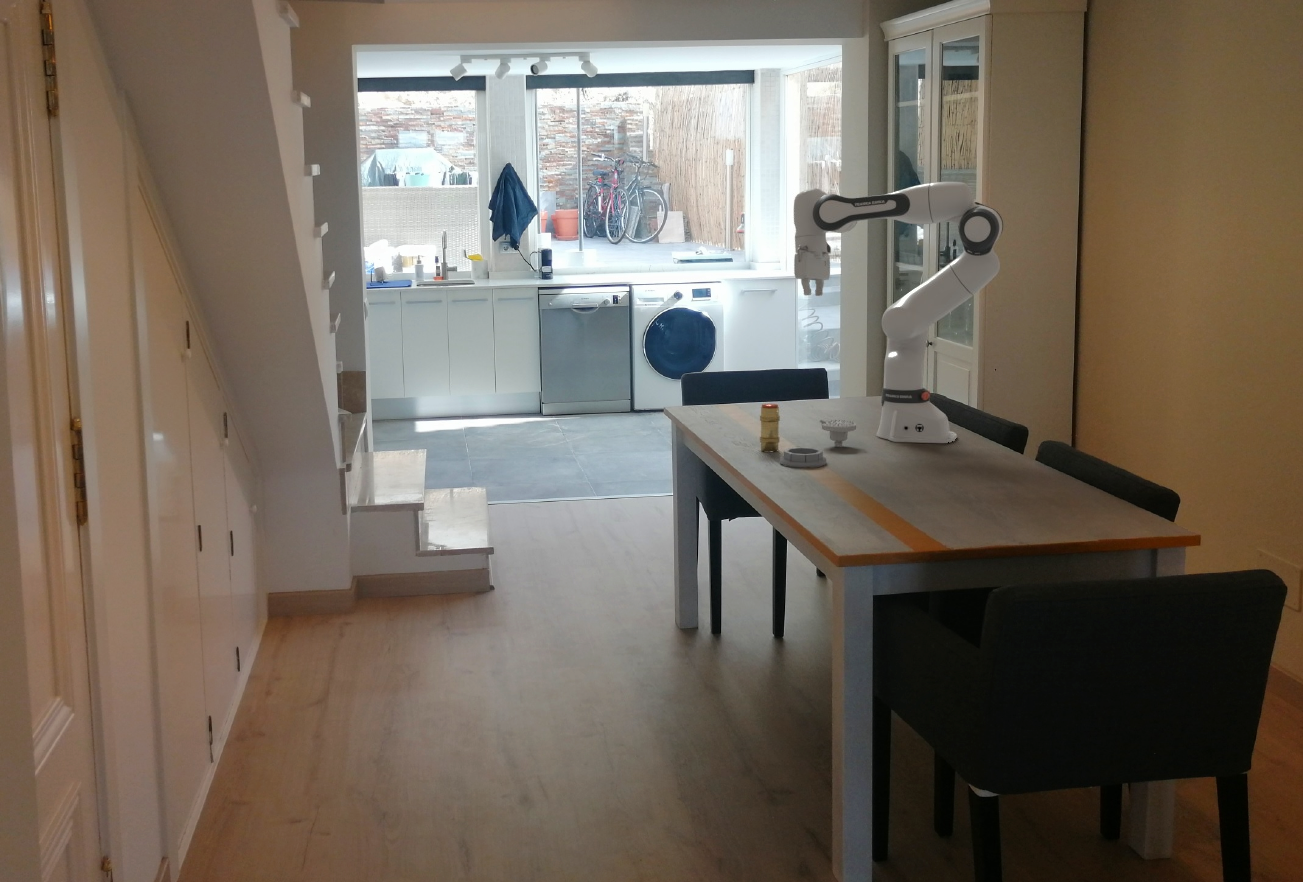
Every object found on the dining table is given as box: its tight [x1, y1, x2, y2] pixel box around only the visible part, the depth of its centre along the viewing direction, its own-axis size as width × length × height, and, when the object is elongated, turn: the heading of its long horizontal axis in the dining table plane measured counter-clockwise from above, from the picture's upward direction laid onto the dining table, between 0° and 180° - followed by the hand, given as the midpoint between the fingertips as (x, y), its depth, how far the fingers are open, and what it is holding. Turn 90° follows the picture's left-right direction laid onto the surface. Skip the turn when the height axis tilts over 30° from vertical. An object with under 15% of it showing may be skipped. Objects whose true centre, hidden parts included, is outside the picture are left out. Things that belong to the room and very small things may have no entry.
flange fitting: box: [779, 446, 827, 468], centre depth 327 cm, size 12×12×3 cm
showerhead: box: [819, 419, 857, 448], centre depth 348 cm, size 9×7×10 cm
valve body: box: [759, 403, 781, 452], centre depth 342 cm, size 5×5×13 cm
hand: (813, 295), depth 360 cm, fingers open, 8 cm apart
